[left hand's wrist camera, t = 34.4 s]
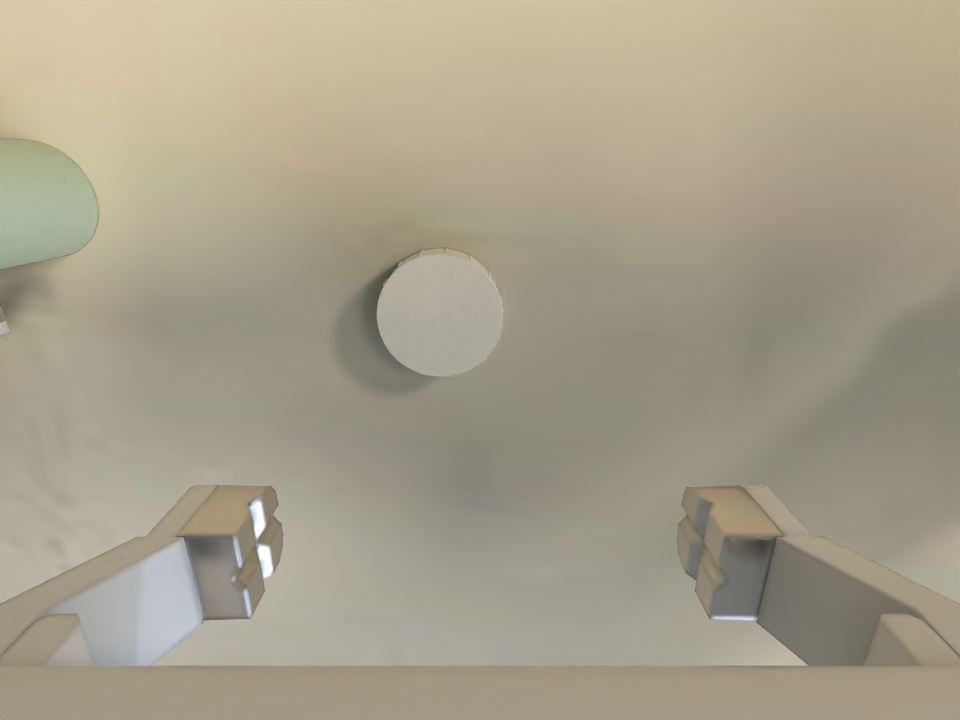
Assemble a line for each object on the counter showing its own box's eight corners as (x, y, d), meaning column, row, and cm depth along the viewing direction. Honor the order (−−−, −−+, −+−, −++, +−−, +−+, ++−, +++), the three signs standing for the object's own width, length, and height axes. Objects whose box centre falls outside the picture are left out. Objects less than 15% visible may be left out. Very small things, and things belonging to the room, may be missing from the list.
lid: (496, 242, 26) (499, 247, 24) (504, 358, 28) (508, 372, 26) (373, 253, 26) (366, 259, 24) (390, 368, 28) (385, 382, 26)
